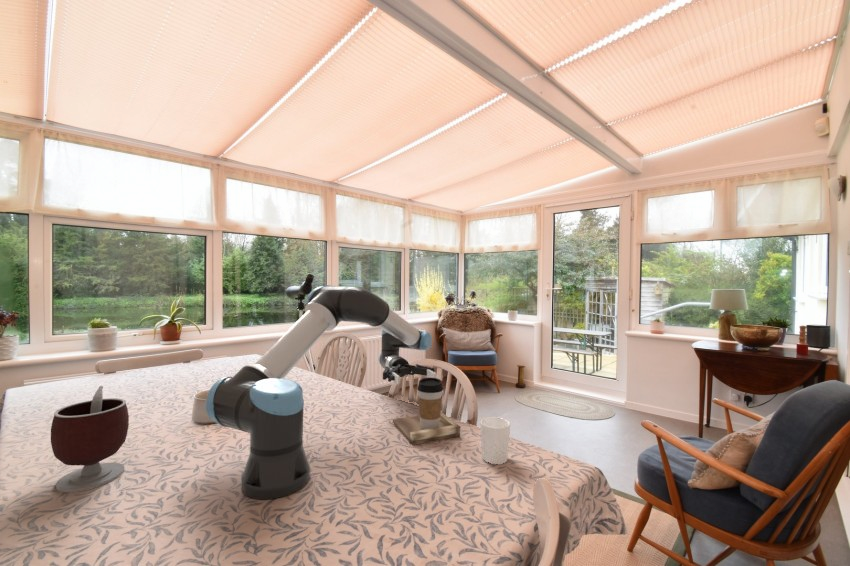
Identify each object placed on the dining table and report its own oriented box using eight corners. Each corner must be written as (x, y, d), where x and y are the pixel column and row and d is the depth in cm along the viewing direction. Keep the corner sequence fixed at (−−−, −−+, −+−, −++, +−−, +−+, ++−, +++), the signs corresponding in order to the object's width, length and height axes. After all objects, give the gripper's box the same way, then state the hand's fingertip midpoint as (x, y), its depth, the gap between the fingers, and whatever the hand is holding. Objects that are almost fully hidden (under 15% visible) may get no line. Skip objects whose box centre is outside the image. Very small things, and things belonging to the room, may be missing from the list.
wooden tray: (412, 445, 108) (412, 434, 108) (392, 422, 125) (392, 413, 125) (460, 436, 115) (460, 426, 115) (435, 416, 131) (435, 407, 131)
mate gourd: (122, 484, 86) (122, 398, 86) (39, 501, 79) (39, 408, 79) (134, 456, 100) (134, 382, 100) (65, 468, 93) (65, 389, 93)
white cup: (512, 466, 97) (512, 428, 97) (482, 465, 97) (482, 427, 97) (506, 452, 105) (506, 417, 105) (478, 451, 105) (478, 416, 105)
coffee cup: (443, 423, 122) (444, 377, 122) (442, 433, 114) (442, 384, 114) (418, 421, 123) (418, 376, 123) (415, 432, 115) (415, 383, 115)
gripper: (425, 372, 153) (449, 386, 134) (366, 377, 143) (382, 393, 124) (426, 354, 153) (449, 365, 134) (367, 358, 143) (382, 370, 124)
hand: (417, 378), depth 129 cm, fingers open, 13 cm apart
